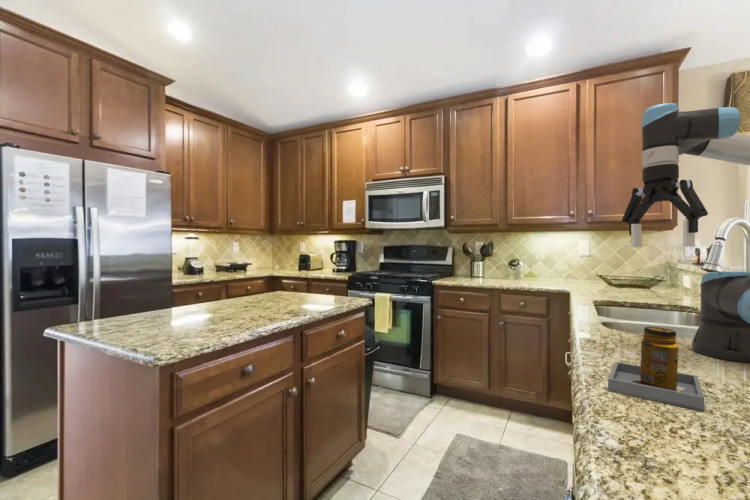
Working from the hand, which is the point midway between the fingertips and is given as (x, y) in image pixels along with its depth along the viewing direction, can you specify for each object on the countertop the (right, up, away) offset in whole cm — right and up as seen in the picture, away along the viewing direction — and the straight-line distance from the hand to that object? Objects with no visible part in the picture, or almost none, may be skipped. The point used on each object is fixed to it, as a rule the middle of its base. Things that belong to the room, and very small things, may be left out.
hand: (661, 247), depth 95 cm
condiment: (-17, -29, -20) cm, 39 cm away
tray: (-17, -30, -20) cm, 40 cm away
